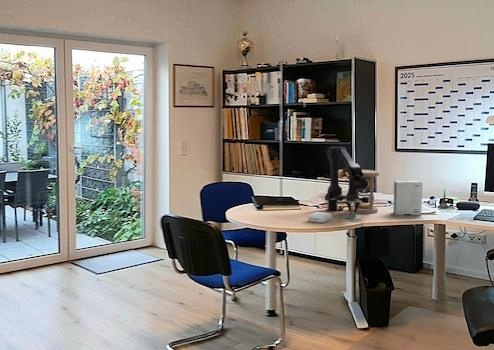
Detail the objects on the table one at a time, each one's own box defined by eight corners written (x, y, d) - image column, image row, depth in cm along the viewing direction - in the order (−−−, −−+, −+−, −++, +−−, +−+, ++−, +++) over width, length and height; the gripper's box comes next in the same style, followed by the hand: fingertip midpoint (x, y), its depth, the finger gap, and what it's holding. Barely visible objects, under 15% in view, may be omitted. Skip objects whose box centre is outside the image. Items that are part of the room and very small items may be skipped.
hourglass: (383, 212, 325) (384, 172, 322) (359, 214, 319) (360, 173, 316) (366, 207, 342) (368, 169, 339) (343, 209, 335) (344, 170, 332)
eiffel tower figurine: (437, 210, 336) (438, 189, 335) (429, 207, 346) (430, 187, 345) (458, 209, 339) (460, 189, 338) (449, 207, 349) (450, 187, 348)
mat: (348, 214, 318) (348, 214, 318) (362, 215, 315) (362, 215, 315) (340, 220, 302) (340, 219, 302) (354, 221, 299) (354, 220, 299)
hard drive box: (418, 213, 325) (420, 180, 323) (421, 215, 317) (422, 182, 315) (392, 212, 327) (394, 180, 324) (394, 214, 319) (396, 182, 317)
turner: (349, 213, 316) (350, 208, 316) (359, 214, 314) (360, 209, 314) (343, 217, 303) (343, 212, 303) (353, 218, 300) (353, 213, 300)
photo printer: (332, 213, 301) (322, 216, 291) (332, 220, 301) (322, 224, 291) (316, 211, 306) (305, 214, 296) (315, 218, 307) (305, 221, 297)
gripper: (334, 187, 306) (333, 214, 308) (366, 190, 298) (365, 217, 300) (339, 185, 316) (338, 211, 318) (370, 187, 308) (369, 213, 310)
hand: (352, 213), depth 311 cm, fingers closed on turner, 2 cm apart
